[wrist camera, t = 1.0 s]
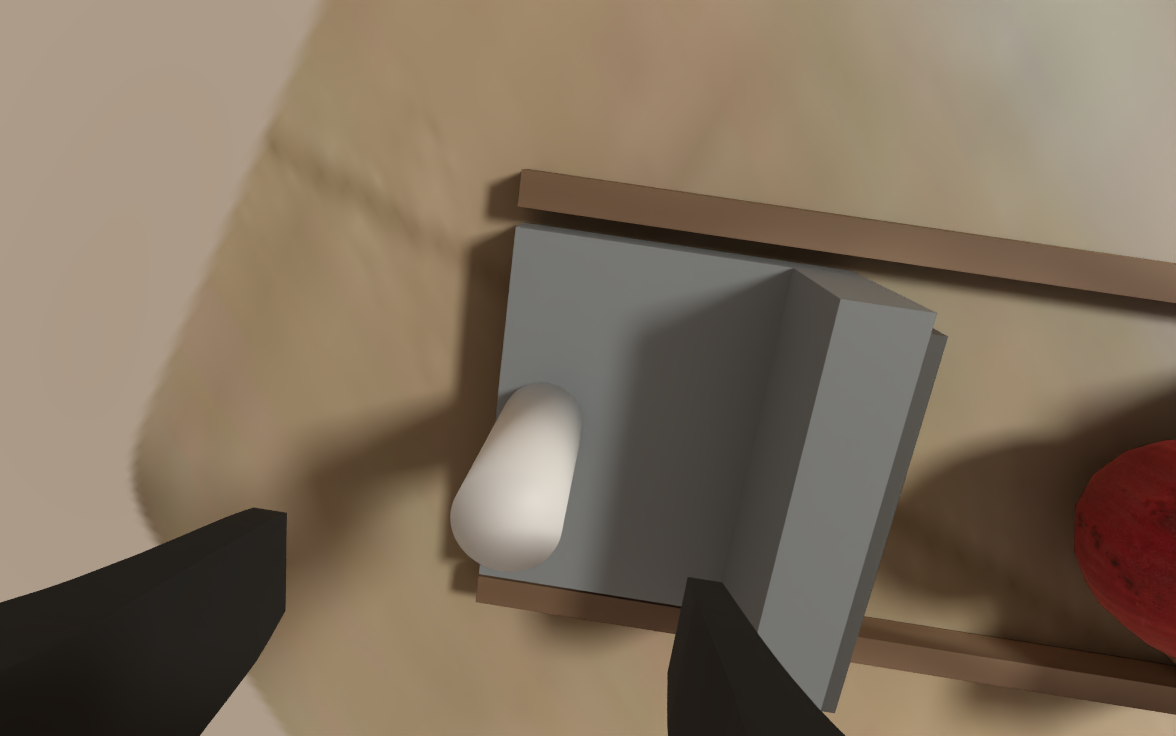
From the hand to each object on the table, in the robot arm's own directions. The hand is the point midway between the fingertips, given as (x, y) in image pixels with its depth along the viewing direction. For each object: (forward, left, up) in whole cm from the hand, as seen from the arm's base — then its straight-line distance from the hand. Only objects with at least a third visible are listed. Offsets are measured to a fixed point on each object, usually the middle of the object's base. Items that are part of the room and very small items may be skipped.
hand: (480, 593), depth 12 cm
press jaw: (0, -4, -10) cm, 11 cm away
